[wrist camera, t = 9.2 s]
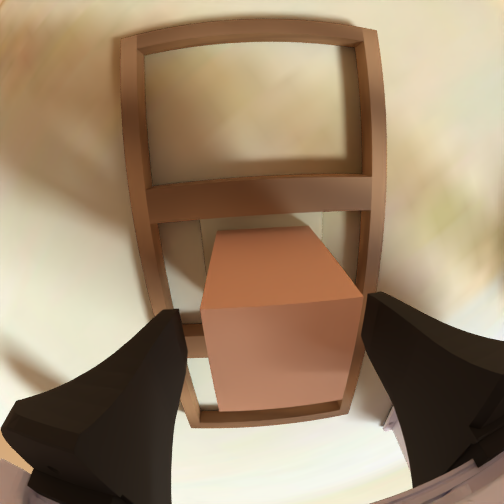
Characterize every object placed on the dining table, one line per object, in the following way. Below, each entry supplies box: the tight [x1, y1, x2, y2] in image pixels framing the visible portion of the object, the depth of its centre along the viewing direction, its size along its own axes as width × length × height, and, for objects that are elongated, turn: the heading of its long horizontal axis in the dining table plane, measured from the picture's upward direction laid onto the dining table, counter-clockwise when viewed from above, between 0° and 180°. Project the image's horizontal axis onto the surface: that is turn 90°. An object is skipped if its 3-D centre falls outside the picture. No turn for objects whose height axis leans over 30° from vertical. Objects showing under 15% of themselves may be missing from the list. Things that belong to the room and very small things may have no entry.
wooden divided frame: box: [120, 19, 387, 428], centre depth 14 cm, size 25×12×1 cm, turn 3°
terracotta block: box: [200, 226, 364, 412], centre depth 12 cm, size 4×4×7 cm
